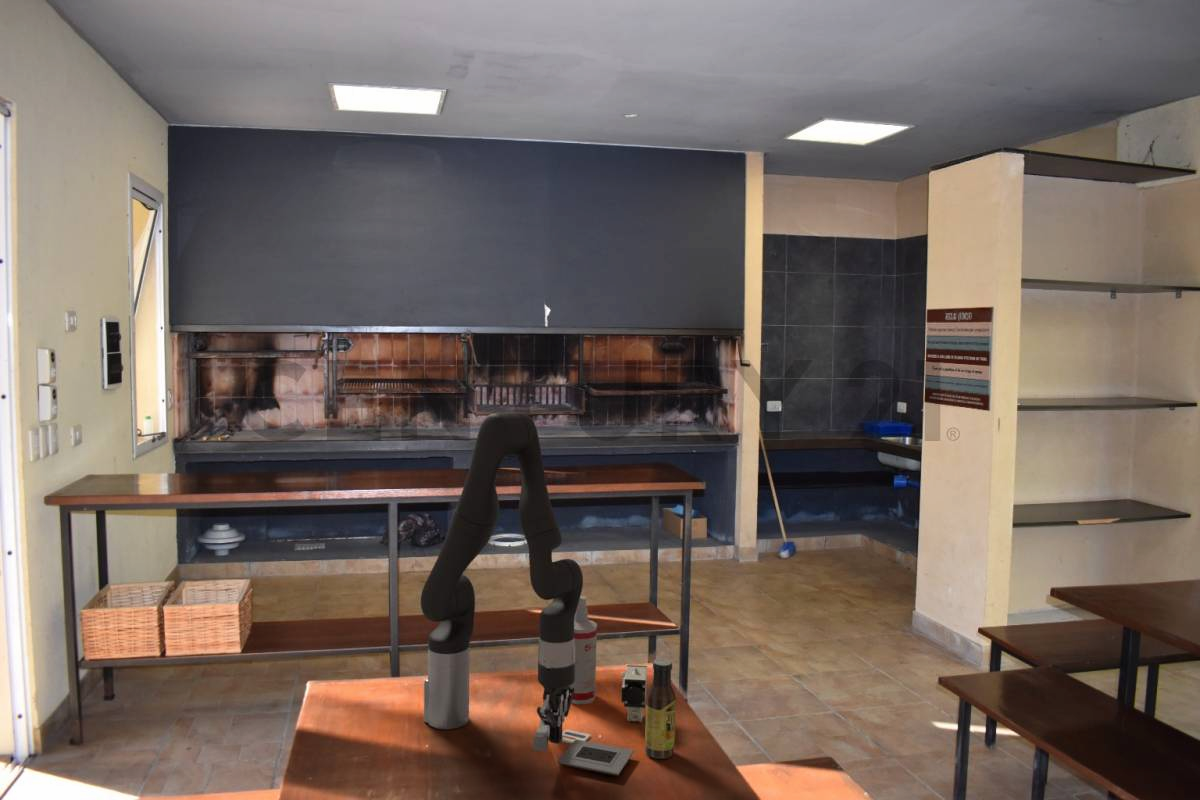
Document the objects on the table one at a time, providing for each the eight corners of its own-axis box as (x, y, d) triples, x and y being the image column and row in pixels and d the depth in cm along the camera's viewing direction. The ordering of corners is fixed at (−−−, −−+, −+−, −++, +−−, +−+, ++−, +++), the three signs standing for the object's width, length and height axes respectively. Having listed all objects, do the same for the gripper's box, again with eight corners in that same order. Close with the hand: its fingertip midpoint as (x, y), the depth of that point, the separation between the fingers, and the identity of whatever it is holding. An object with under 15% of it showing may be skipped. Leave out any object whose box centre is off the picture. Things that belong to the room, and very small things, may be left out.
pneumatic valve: (645, 708, 212) (647, 659, 211) (644, 730, 200) (645, 678, 199) (622, 707, 212) (623, 658, 211) (619, 729, 201) (620, 677, 200)
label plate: (555, 740, 195) (556, 738, 195) (566, 730, 199) (566, 728, 199) (580, 746, 192) (580, 743, 192) (590, 736, 197) (590, 734, 197)
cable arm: (544, 705, 198) (544, 692, 198) (560, 706, 198) (560, 692, 198) (530, 750, 177) (531, 736, 177) (549, 751, 177) (549, 737, 177)
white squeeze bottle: (567, 689, 222) (569, 591, 220) (596, 692, 221) (599, 592, 218) (561, 703, 214) (563, 600, 212) (592, 705, 213) (594, 602, 211)
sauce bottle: (670, 763, 186) (673, 669, 184) (641, 758, 188) (643, 665, 186) (677, 749, 192) (680, 658, 190) (648, 744, 194) (651, 655, 192)
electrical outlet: (633, 759, 188) (634, 748, 188) (618, 783, 178) (618, 772, 178) (575, 748, 192) (575, 737, 192) (556, 771, 182) (557, 760, 182)
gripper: (554, 645, 188) (553, 725, 190) (524, 667, 176) (523, 752, 178) (587, 651, 185) (586, 731, 187) (558, 673, 173) (557, 759, 175)
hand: (555, 741), depth 182 cm, fingers closed
